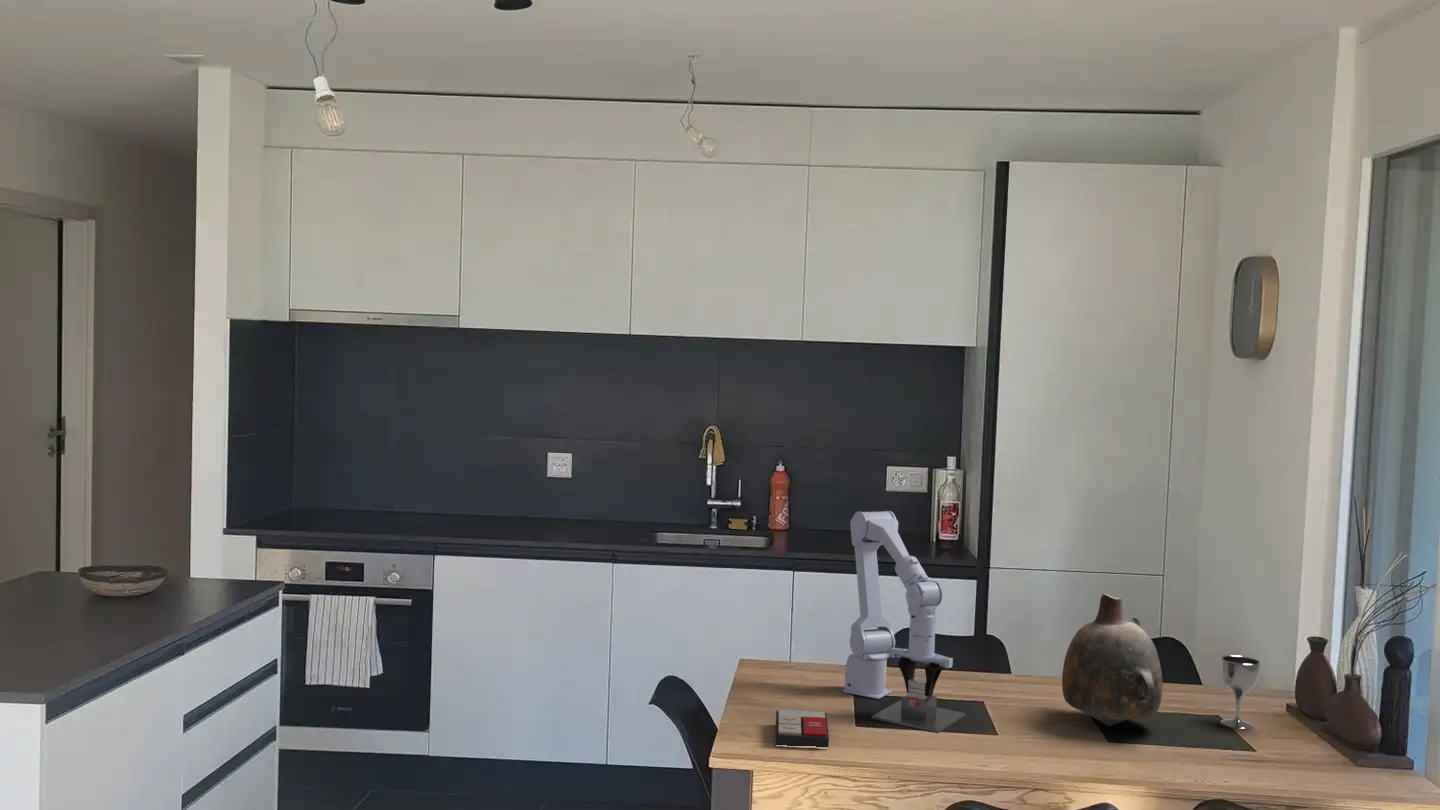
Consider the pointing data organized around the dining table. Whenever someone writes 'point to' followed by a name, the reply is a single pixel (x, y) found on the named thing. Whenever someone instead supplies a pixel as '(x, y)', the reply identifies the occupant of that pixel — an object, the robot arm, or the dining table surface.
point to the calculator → (802, 728)
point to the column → (917, 689)
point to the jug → (1112, 668)
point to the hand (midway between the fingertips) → (919, 693)
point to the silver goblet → (1239, 683)
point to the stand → (919, 714)
